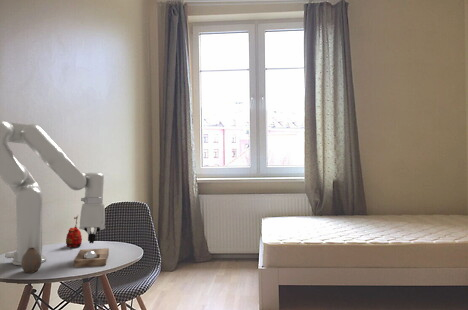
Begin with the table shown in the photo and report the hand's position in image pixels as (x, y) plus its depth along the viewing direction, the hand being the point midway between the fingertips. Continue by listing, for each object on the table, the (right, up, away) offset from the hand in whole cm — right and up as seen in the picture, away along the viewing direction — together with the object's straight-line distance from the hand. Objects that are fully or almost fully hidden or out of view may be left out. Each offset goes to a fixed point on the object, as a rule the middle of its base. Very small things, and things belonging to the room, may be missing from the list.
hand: (91, 242), depth 177 cm
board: (+3, -6, -7) cm, 10 cm away
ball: (+4, -3, -12) cm, 13 cm away
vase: (-15, -6, -23) cm, 28 cm away
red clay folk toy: (-14, -6, +16) cm, 22 cm away
